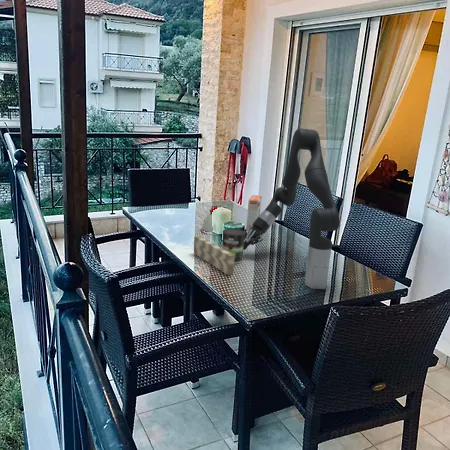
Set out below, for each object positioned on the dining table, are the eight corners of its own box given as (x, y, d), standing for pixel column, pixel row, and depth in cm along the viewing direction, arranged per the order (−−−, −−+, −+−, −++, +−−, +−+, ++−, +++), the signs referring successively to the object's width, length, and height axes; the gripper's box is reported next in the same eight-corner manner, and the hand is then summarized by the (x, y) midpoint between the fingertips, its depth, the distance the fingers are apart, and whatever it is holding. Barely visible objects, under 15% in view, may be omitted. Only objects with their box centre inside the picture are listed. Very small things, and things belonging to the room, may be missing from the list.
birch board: (233, 274, 198) (234, 255, 196) (228, 275, 197) (229, 255, 194) (198, 253, 222) (198, 235, 219) (193, 253, 220) (194, 236, 218)
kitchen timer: (196, 230, 258) (198, 205, 254) (214, 226, 268) (215, 202, 264) (213, 236, 249) (215, 210, 245) (231, 232, 259) (232, 207, 254)
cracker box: (255, 237, 253) (258, 200, 247) (245, 235, 254) (248, 199, 248) (259, 230, 266) (262, 195, 260) (249, 229, 267) (251, 194, 262)
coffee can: (240, 265, 210) (242, 236, 206) (218, 262, 212) (220, 233, 208) (244, 258, 219) (246, 230, 215) (224, 255, 221) (225, 227, 218)
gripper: (252, 213, 223) (230, 240, 220) (268, 220, 213) (245, 248, 210) (259, 222, 228) (238, 249, 225) (276, 230, 217) (254, 257, 214)
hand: (242, 248), depth 217 cm, fingers closed
